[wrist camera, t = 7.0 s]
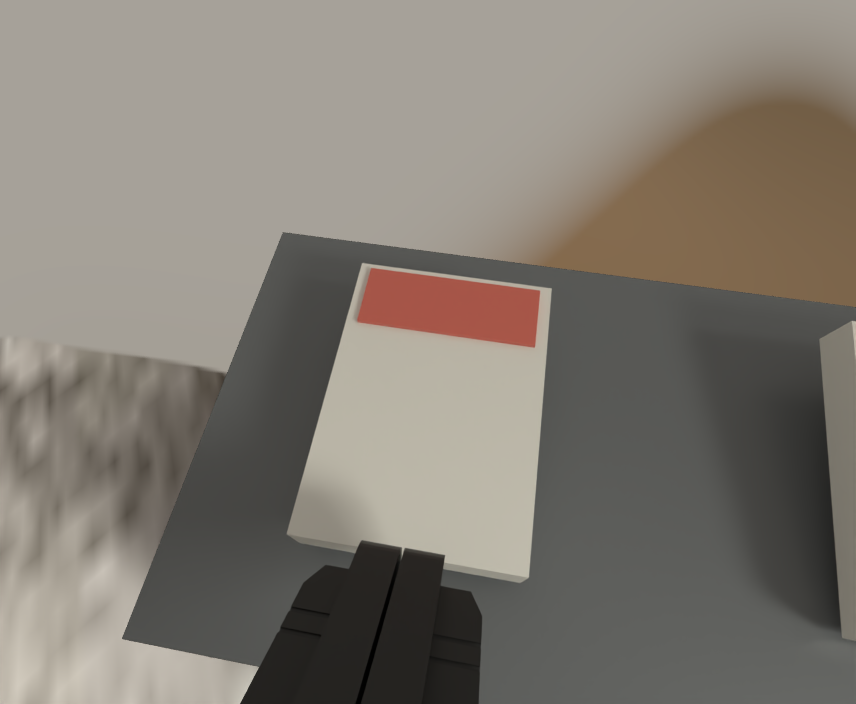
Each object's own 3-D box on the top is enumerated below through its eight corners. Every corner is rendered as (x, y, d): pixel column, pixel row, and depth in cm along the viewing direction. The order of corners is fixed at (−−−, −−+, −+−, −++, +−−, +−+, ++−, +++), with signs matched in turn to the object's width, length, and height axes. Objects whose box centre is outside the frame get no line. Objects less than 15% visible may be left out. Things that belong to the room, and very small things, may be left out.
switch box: (869, 428, 23) (1071, 322, 16) (957, 791, 17) (1346, 887, 10) (269, 339, 26) (204, 210, 18) (162, 632, 20) (1, 614, 12)
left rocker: (543, 312, 15) (552, 285, 14) (520, 583, 12) (530, 577, 11) (366, 288, 16) (361, 260, 14) (299, 542, 12) (284, 532, 11)
